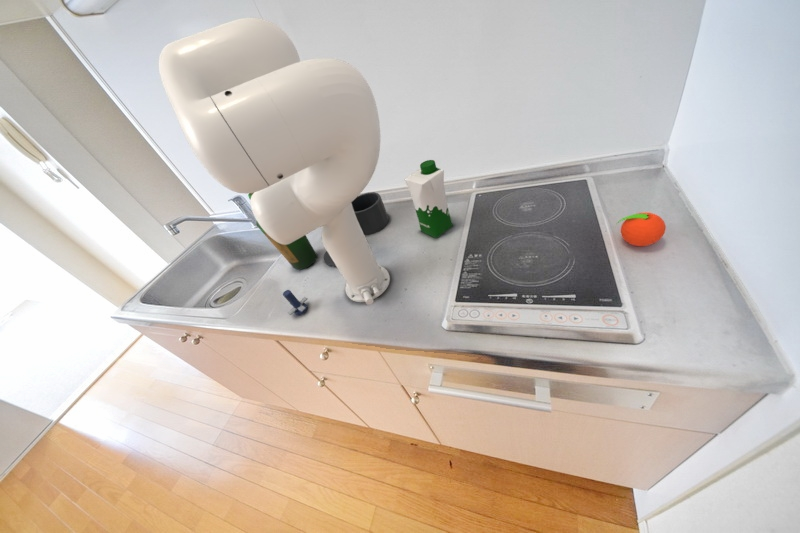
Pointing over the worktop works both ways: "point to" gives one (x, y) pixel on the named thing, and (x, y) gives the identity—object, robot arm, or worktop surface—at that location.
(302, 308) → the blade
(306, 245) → the bottle
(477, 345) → the worktop surface
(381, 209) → the dark grey cup
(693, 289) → the worktop surface
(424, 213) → the milk carton
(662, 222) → the clementine
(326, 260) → the lid
